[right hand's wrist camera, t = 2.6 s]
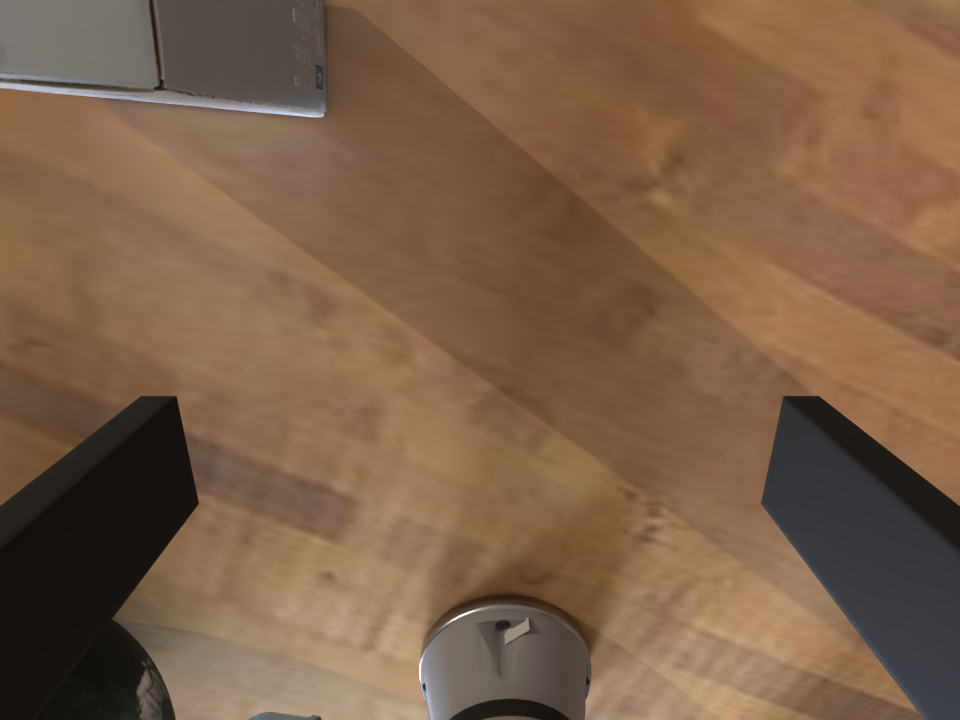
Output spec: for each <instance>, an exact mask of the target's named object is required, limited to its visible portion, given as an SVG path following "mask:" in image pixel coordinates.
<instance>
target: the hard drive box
mask: <svg viewBox="0 0 960 720" xmlns="http://www.w3.org/2000/svg"><path fill="white" fill-rule="evenodd" d="M0 88H7V89H17V90H27V91H37V92H46V93H57V94H68V95H80V96H92V97H103V98H116V99H126V100H137V101H147V102H158V103H169V104H179V105H190V106H200V107H211V108H221V109H231V110H241V111H251V112H261V113H273V114H284V115H295V116H305V117H323V116H324V112H326V111H327V91H326V48H325V13H324V0H0Z"/></svg>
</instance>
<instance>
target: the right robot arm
mask: <svg viewBox="0 0 960 720" xmlns="http://www.w3.org/2000/svg"><path fill="white" fill-rule="evenodd" d="M198 504H199V502H198V497H197V492H196V487H195V482H194V478H193V473H192V468H191V463H190V459H189V454H188V449H187V444H186V440H185V435H184V430H183V425H182V420H181V416H180V411H179V406H178V401H177V397H176V396H141V397H139V398H138V399H137V400H136V401H134V402H133V403H132V404H131V405H129V406H128V407H127V408H125V409H124V410H123V411H122V412H120V413H119V414H118V415H116V416H115V417H114V418H113V419H111V420H110V421H109V422H107V423H106V424H105V425H104V426H102V427H101V428H100V429H99V430H97V431H96V432H95V433H93V434H92V435H91V436H90V437H88V438H87V439H86V440H84V441H83V442H82V443H81V444H79V445H78V446H77V447H75V448H74V449H73V450H72V451H70V452H69V453H68V454H67V455H65V456H64V457H63V458H61V459H60V460H59V461H58V462H56V463H55V464H54V465H52V466H51V467H50V468H49V469H47V470H46V471H45V472H43V473H42V474H41V475H40V476H38V477H37V478H36V479H35V480H33V481H32V482H31V483H29V484H28V485H27V486H26V487H24V488H23V489H22V490H20V491H19V492H18V493H17V494H15V495H14V496H13V497H11V498H10V499H9V500H8V501H6V502H5V503H4V504H3V505H1V506H0V720H36V719H37V717H38V716H39V715H40V713H41V712H42V711H43V709H44V708H45V707H46V705H47V704H48V703H49V701H50V700H51V699H52V697H53V696H54V695H55V693H56V692H57V691H58V689H59V688H60V687H61V685H62V684H63V683H64V681H65V680H66V679H67V678H68V676H69V675H70V674H71V672H72V671H73V670H74V668H75V667H76V666H77V664H78V663H79V662H80V660H81V659H82V658H83V656H84V655H85V654H86V652H87V651H88V650H89V648H90V647H91V646H92V644H93V643H94V642H95V640H96V639H97V638H98V636H99V635H100V634H101V633H102V631H103V630H104V629H105V627H106V626H107V625H108V623H109V622H110V621H111V619H112V618H113V617H114V615H115V614H116V613H117V611H118V610H119V609H120V607H121V606H122V605H123V603H124V602H125V601H126V599H127V598H128V597H129V595H130V594H131V593H132V591H133V590H134V589H135V588H136V586H137V585H138V584H139V582H140V581H141V580H142V578H143V577H144V576H145V574H146V573H147V572H148V570H149V569H150V568H151V566H152V565H153V564H154V562H155V561H156V560H157V558H158V557H159V556H160V554H161V553H162V552H163V550H164V549H165V548H166V546H167V545H168V544H169V542H170V541H171V540H172V539H173V537H174V536H175V535H176V533H177V532H178V531H179V529H180V528H181V527H182V525H183V524H184V523H185V521H186V520H187V519H188V517H189V516H190V515H191V513H192V512H193V511H194V509H195V508H196V507H197V505H198ZM761 504H762V505H763V507H764V508H765V509H766V511H767V512H768V513H769V515H770V516H771V517H772V519H773V520H774V521H775V523H776V524H777V525H778V527H779V528H780V529H781V531H782V532H783V533H784V535H785V536H786V537H787V539H788V540H789V541H790V542H791V544H792V545H793V546H794V548H795V549H796V550H797V552H798V553H799V554H800V556H801V557H802V558H803V560H804V561H805V562H806V564H807V565H808V566H809V568H810V569H811V570H812V572H813V573H814V574H815V576H816V577H817V578H818V580H819V581H820V582H821V584H822V585H823V586H824V588H825V589H826V590H827V591H828V593H829V594H830V595H831V597H832V598H833V599H834V601H835V602H836V603H837V605H838V606H839V607H840V609H841V610H842V611H843V613H844V614H845V615H846V617H847V618H848V619H849V621H850V622H851V623H852V625H853V626H854V627H855V629H856V630H857V631H858V633H859V634H860V635H861V636H862V638H863V639H864V640H865V642H866V643H867V644H868V646H869V647H870V648H871V650H872V651H873V652H874V654H875V655H876V656H877V658H878V659H879V660H880V662H881V663H882V664H883V666H884V667H885V668H886V670H887V671H888V672H889V674H890V675H891V676H892V678H893V679H894V680H895V681H896V683H897V684H898V685H899V687H900V688H901V689H902V691H903V692H904V693H905V695H906V696H907V697H908V699H909V700H910V701H911V703H912V704H913V705H914V707H915V708H916V709H917V711H918V712H919V713H920V715H921V716H922V717H923V719H924V720H960V506H959V505H957V504H956V503H955V502H954V501H952V500H951V499H950V498H949V497H947V496H946V495H945V494H943V493H942V492H941V491H940V490H938V489H937V488H936V487H934V486H933V485H932V484H931V483H929V482H928V481H927V480H925V479H924V478H923V477H922V476H920V475H919V474H918V473H917V472H915V471H914V470H913V469H911V468H910V467H909V466H908V465H906V464H905V463H904V462H902V461H901V460H900V459H899V458H897V457H896V456H895V455H893V454H892V453H891V452H890V451H888V450H887V449H886V448H885V447H883V446H882V445H881V444H879V443H878V442H877V441H876V440H874V439H873V438H872V437H870V436H869V435H868V434H867V433H865V432H864V431H863V430H861V429H860V428H859V427H858V426H856V425H855V424H854V423H853V422H851V421H850V420H849V419H847V418H846V417H845V416H844V415H842V414H841V413H840V412H838V411H837V410H836V409H835V408H833V407H832V406H831V405H829V404H828V403H827V402H826V401H824V400H823V399H822V398H821V397H819V396H784V397H783V401H782V406H781V411H780V416H779V420H778V425H777V430H776V435H775V440H774V444H773V449H772V454H771V459H770V463H769V468H768V473H767V478H766V482H765V487H764V492H763V497H762V502H761ZM419 673H420V682H421V688H422V692H423V696H424V699H425V701H426V703H427V705H428V713H429V719H430V720H584V718H585V700H586V698H587V696H588V692H589V688H590V681H591V663H590V658H589V653H588V648H587V644H586V641H585V638H584V636H583V634H582V632H581V630H580V629H579V627H578V626H577V625H576V623H575V622H574V621H573V620H572V619H571V618H570V617H569V616H567V615H566V614H565V613H564V612H562V611H561V610H559V609H558V608H556V607H554V606H552V605H550V604H548V603H545V602H543V601H540V600H537V599H533V598H529V597H524V596H516V595H496V596H488V597H483V598H478V599H475V600H472V601H469V602H466V603H464V604H461V605H459V606H457V607H455V608H454V609H452V610H450V611H449V612H447V613H446V614H445V615H444V616H442V617H441V618H440V619H439V620H438V621H437V622H436V623H435V624H434V625H433V627H432V628H431V629H430V631H429V632H428V634H427V636H426V638H425V641H424V643H423V647H422V652H421V661H420V671H419ZM249 720H321V717H319V716H316V715H313V716H311V717H303V716H296V715H288V714H281V713H274V712H265V713H260V714H258V715H256V716H253V717H252V718H250V719H249Z"/></svg>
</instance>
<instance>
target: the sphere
mask: <svg viewBox="0 0 960 720" xmlns="http://www.w3.org/2000/svg"><path fill="white" fill-rule="evenodd" d="M36 720H176V719H175V714H174V710H173V706H172V703H171V699H170V696H169V693H168V690H167V688H166V686H165V683H164V681H163V679H162V676H161V674H160V673H159V671H158V669H157V667H156V665H155V664H154V662H153V661H152V659H151V658H150V656H149V655H148V653H147V652H146V651H145V650H144V648H143V647H142V646H141V645H140V644H139V642H138V641H137V640H136V639H135V638H134V637H133V636H132V635H131V634H130V633H129V632H127V631H126V630H125V629H124V628H123V627H122V626H120V625H119V624H118V623H116V622H115V621H114V620H112V619H111V621H110V622H109V623H108V625H107V626H106V627H105V629H104V630H103V631H102V633H101V634H100V635H99V636H98V638H97V639H96V640H95V642H94V643H93V644H92V646H91V647H90V648H89V650H88V651H87V652H86V654H85V655H84V656H83V658H82V659H81V660H80V662H79V663H78V664H77V666H76V667H75V668H74V670H73V671H72V672H71V674H70V675H69V676H68V678H67V679H66V680H65V681H64V683H63V684H62V685H61V687H60V688H59V689H58V691H57V692H56V693H55V695H54V696H53V697H52V699H51V700H50V701H49V703H48V704H47V705H46V707H45V708H44V709H43V711H42V712H41V713H40V715H39V716H38V717H37V719H36Z"/></svg>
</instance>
